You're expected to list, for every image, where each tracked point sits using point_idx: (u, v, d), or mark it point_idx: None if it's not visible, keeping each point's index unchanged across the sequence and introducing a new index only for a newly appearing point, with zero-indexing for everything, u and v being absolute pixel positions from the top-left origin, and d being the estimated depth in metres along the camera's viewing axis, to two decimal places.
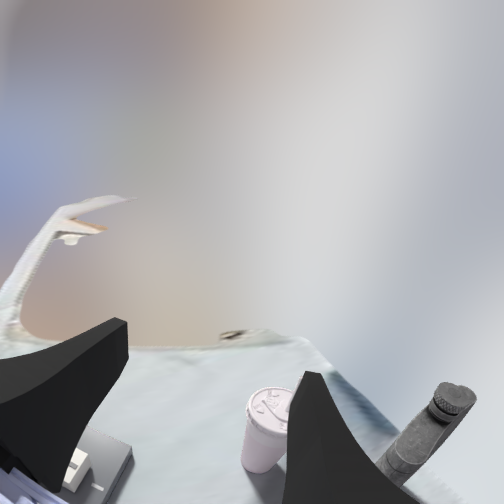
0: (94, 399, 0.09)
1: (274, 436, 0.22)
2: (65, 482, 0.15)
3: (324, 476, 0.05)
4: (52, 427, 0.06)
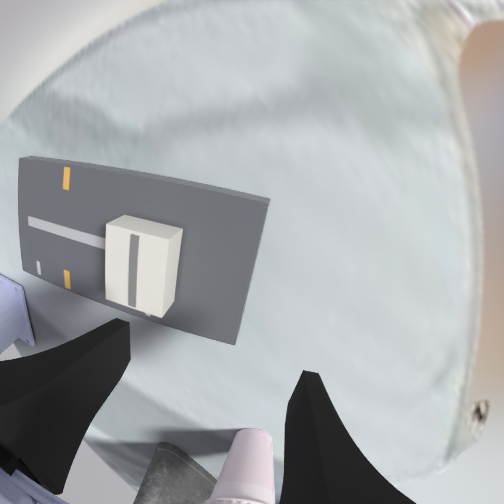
0: (96, 400, 0.09)
1: None
2: None
3: (320, 476, 0.05)
4: (54, 428, 0.06)
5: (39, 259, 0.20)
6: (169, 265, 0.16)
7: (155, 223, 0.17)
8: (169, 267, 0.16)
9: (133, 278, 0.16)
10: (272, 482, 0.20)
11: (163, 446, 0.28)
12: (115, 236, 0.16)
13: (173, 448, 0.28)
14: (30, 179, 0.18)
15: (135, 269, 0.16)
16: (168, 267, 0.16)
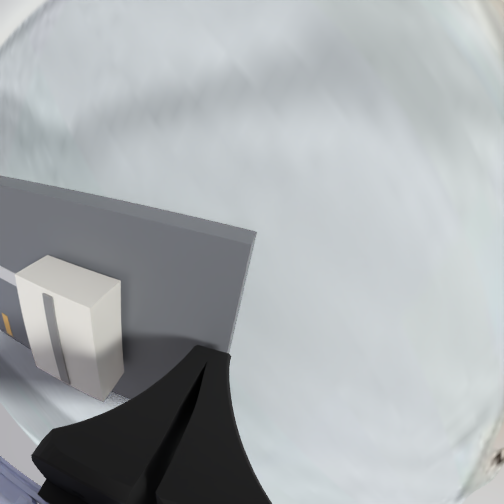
0: (183, 434, 0.09)
1: None
2: None
3: (178, 448, 0.06)
4: (160, 478, 0.06)
5: None
6: (100, 339, 0.10)
7: (83, 271, 0.10)
8: (102, 341, 0.10)
9: (57, 351, 0.10)
10: None
11: None
12: (27, 293, 0.09)
13: None
14: None
15: (57, 341, 0.09)
16: (98, 343, 0.09)
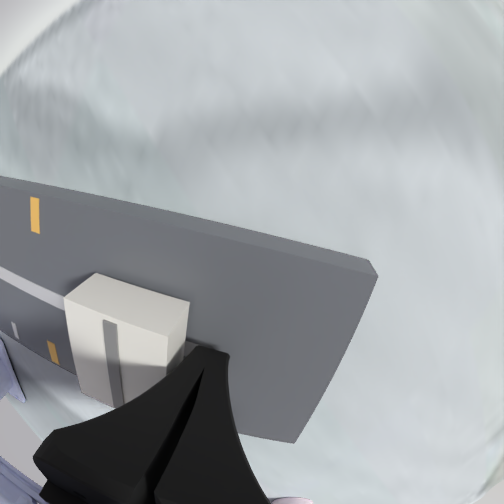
0: None
1: None
2: None
3: (177, 448, 0.06)
4: None
5: (14, 320, 0.13)
6: (170, 365, 0.09)
7: (144, 292, 0.10)
8: (171, 367, 0.10)
9: (115, 379, 0.09)
10: None
11: None
12: (79, 318, 0.09)
13: None
14: None
15: (117, 370, 0.09)
16: (169, 370, 0.09)
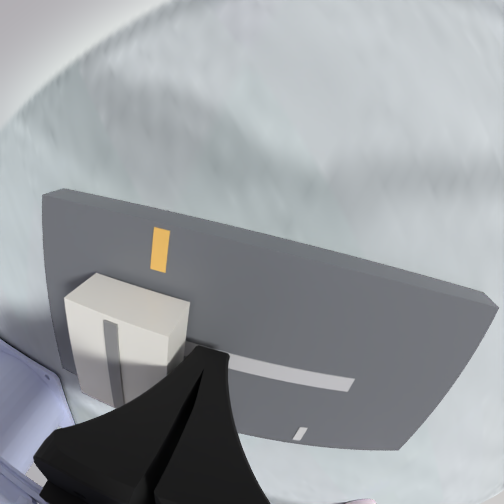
0: None
1: None
2: None
3: (177, 448, 0.06)
4: None
5: None
6: (171, 365, 0.09)
7: (144, 292, 0.10)
8: (171, 367, 0.10)
9: (115, 379, 0.09)
10: None
11: None
12: (80, 318, 0.09)
13: None
14: (68, 238, 0.11)
15: (117, 369, 0.09)
16: (169, 370, 0.09)
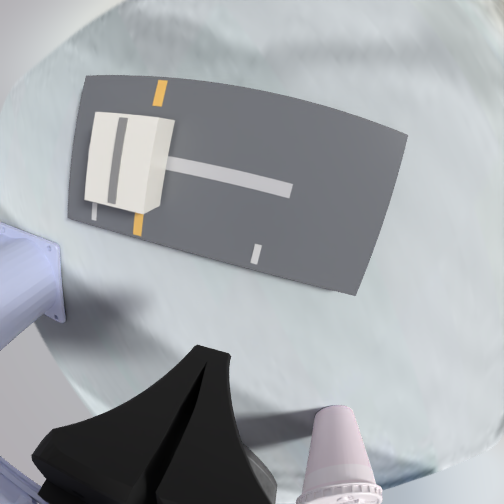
0: (183, 434, 0.09)
1: (304, 497, 0.15)
2: None
3: (178, 448, 0.06)
4: (160, 478, 0.06)
5: None
6: (156, 150, 0.14)
7: None
8: (156, 153, 0.14)
9: (115, 166, 0.14)
10: None
11: None
12: (103, 123, 0.13)
13: None
14: (99, 98, 0.15)
15: (119, 156, 0.14)
16: (154, 151, 0.14)
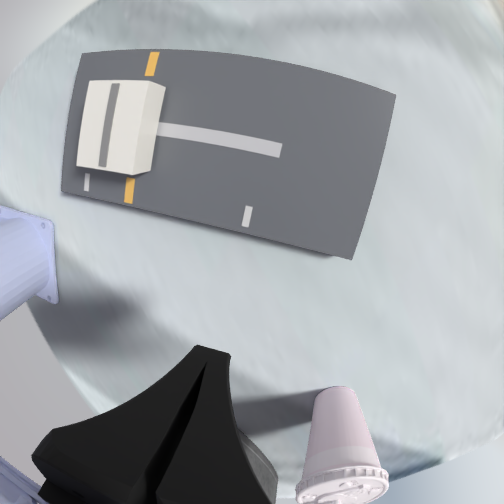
0: (183, 434, 0.09)
1: (303, 483, 0.15)
2: None
3: (178, 448, 0.06)
4: (160, 478, 0.06)
5: (90, 170, 0.17)
6: (147, 112, 0.14)
7: None
8: (147, 115, 0.14)
9: (107, 130, 0.13)
10: (373, 445, 0.17)
11: None
12: (96, 90, 0.13)
13: None
14: (94, 73, 0.15)
15: (110, 119, 0.13)
16: (145, 113, 0.13)
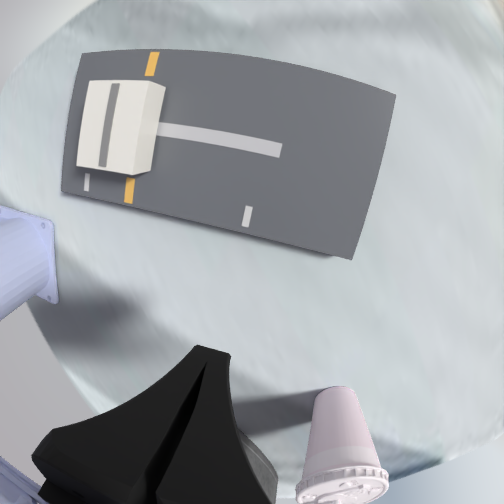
0: (183, 434, 0.09)
1: (303, 483, 0.15)
2: None
3: (178, 448, 0.06)
4: (160, 478, 0.06)
5: (90, 170, 0.17)
6: (147, 112, 0.14)
7: None
8: (147, 115, 0.14)
9: (107, 130, 0.13)
10: (373, 445, 0.17)
11: None
12: (96, 90, 0.13)
13: None
14: (94, 73, 0.15)
15: (110, 119, 0.13)
16: (145, 113, 0.13)
